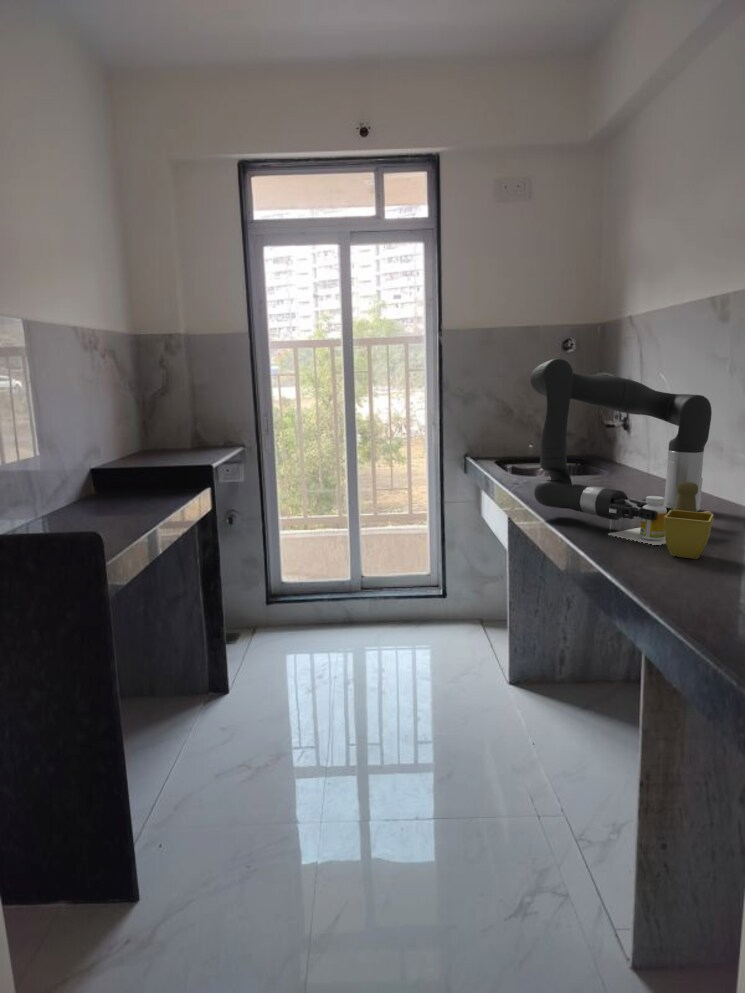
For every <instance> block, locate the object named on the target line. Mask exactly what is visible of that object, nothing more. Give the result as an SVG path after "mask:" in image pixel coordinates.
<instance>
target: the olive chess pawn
mask: <svg viewBox="0 0 745 993" xmlns="http://www.w3.org/2000/svg"><path fill="white" fill-rule="evenodd" d="M676 490H677V493H678V497H677V502H676V506H675V510H679V511H690V512H696V498H695V495H696V494H697V493H698V486H697V484H695V483H692V482H680V483H678V485H677V487H676Z"/></svg>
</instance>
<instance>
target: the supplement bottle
mask: <svg viewBox="0 0 745 993" xmlns="http://www.w3.org/2000/svg"><path fill="white" fill-rule="evenodd" d="M645 500H646V503H647V505H645V506H643V508H644V509H649V510H654V511H657V513H658V514H657V520H654V521H653V520H648V519H643V518H640V527H641V528H640V527H639V528H640V536H641V537H642V538H644V539H650V540H662V539H664V537H665V523H664V517H665V516H666V515H667V509H666V508H665V507H664V501H665V496H664V497H663V496H658V495H647V496H646V498H645ZM643 508H642V509H643Z"/></svg>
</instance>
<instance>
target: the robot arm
mask: <svg viewBox="0 0 745 993" xmlns="http://www.w3.org/2000/svg"><path fill="white" fill-rule="evenodd" d="M529 379H530V380H529V381H530V385H531V387H532V388H533V390H534V391H535V392H536V393H537V394H540V395H542V396H545V397H546V412H545V418H544V423H543V427H542V430H541V433H540V439H539V440H540V442H539V449H540V450H539V452H540V453H539V455H540V456H539V464H540V468H541V470H543V471H546V472H548V473H549V477H550V479H545V480H542V481H539V482H538V483H537V484H536V486H535V487H534V498H535V499H536V501H537V503H539V504H540V505H541V506H544V507H549V508H560V509H568V510H573V511H574V512H575V511H576V512H580V513H585V514H587V515H591V516H594V517H599V518H601V519H602V518H603V519H607V520H612V521H618V520H620V519H622V518H624V519H629V520H634V519H637V520H639V519H641V518H643V519H648V520H653V521H654V520H657V514H658V513H657V511H654V510H649V509H644V508H643V506H645V505H647V503H646V498H645V499H641V500H638V499H637V498H628V496H627V494H626V492H624V491H623V490H619V489H613V488H608V487H604V486H603V487H602V486H593V485H592V486H591V485H587V484H586V485H585V484H573V482H572V478H571V474H570V470H569V467H568V464H567V462H568V461H567V460H568V459H567V457H568V456H567V455H568V452H567V450H568V449H567V445H568V444H567V442H568V441H567V436H568V435H567V433H568V420H569V413H570V412H569V410H570V403H571V400H574V401H579V402H582V403H585V404H588V405H591V406H596V407H599V408H603V409H606V410H610V411H615V412H618V413H624V414H630V415H638V416H648V417H651V418H654V419H655V418H656V419H658V420H661V421H664V422H666V423H670V424H671V425H674V426H677V427H678V428H677V429H678V431H677V434H676V436H675V437H674V438H673V439H671V440H669V441H668V449H667V450H668V451H667V464H666V474H665V475H666V476H665V478H666V479H665V489H664V490H665V491H664V498H665V501H664V504H663V506H664V507H665V508H666V509H667V514H668V512H669V511H670V510H675V506H676V502H677V497H678V493H677V490H676V487H677V485H678V483H680V482H692V483H695V484H697V486H698V493H697V494H696V495H695V498H696V512H699V511H700V509H701V498H702V490H703V488H702V487H703V477H702V475H703V474H702V473H703V464H704V462H703V461H704V454H705V453H704V452H705V446H706V445H707V442H708V440H709V435H710V428H711V424H712V423H711V421H712V412H713V411H712V404H711V402H710V400H709V398H707V397H706V396H704V395H701V394H691V393H690V394H689V393H688V394H686V393H685V394H684V393H683V394H682V393H679V394H678V393H669V392H665V391H658V390H654V389H652V388H650V387H649V386H647V385H646V384H643V383H641V382H639V381H636V380H633V379H629V378H625V377H622V376H621V377H620V376H616V375H615V376H614V375H606V374H605V375H604V374H603V375H602V374H583V373H582V374H581V373H577V372H576V373H575V372H574V370H573V367H572V365H571V364H570V363H569V362H568V361H567V360H565V359H563V358H559V357H558V358H553V359H550V360H547V361H544V362H543V363H541V364H539V365H538V366H536V367H535V368H534V369H533V370H532V372H531V374H530V378H529ZM642 508H643V509H642Z"/></svg>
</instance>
